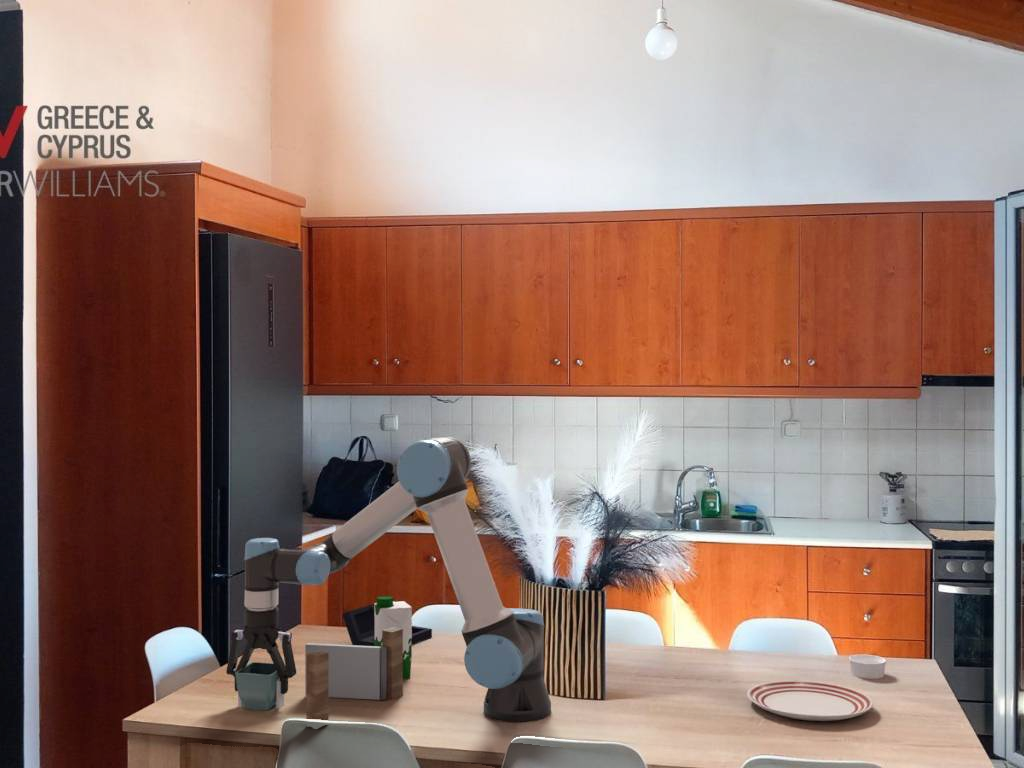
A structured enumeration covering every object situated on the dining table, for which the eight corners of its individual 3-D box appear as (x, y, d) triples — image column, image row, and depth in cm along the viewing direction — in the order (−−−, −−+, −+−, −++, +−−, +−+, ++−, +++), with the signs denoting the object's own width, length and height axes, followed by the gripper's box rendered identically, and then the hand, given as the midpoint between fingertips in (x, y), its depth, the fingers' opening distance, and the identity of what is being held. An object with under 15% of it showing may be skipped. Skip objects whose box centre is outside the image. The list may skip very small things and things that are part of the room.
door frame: (402, 696, 235) (402, 628, 235) (316, 731, 212) (316, 656, 212) (392, 694, 237) (393, 627, 237) (306, 728, 214) (306, 653, 214)
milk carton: (371, 673, 254) (371, 594, 254) (405, 669, 257) (405, 591, 257) (379, 683, 246) (379, 601, 246) (415, 679, 249) (415, 599, 249)
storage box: (388, 654, 272) (388, 617, 272) (341, 646, 281) (341, 610, 281) (431, 637, 290) (432, 603, 290) (387, 630, 298) (387, 596, 298)
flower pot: (270, 715, 222) (271, 674, 222) (234, 712, 224) (234, 672, 224) (287, 702, 231) (287, 663, 231) (252, 700, 233) (252, 661, 233)
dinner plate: (723, 698, 235) (723, 684, 235) (820, 686, 245) (820, 672, 245) (795, 738, 210) (796, 722, 210) (900, 722, 219) (900, 707, 219)
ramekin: (850, 679, 250) (850, 662, 250) (847, 669, 258) (847, 652, 258) (888, 682, 248) (888, 664, 248) (883, 672, 256) (883, 655, 256)
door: (389, 696, 234) (389, 644, 234) (385, 700, 231) (385, 648, 231) (310, 691, 237) (310, 641, 237) (305, 695, 234) (305, 644, 234)
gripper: (312, 605, 229) (311, 703, 229) (224, 601, 233) (224, 698, 233) (300, 612, 222) (299, 714, 222) (210, 608, 225) (209, 709, 225)
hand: (261, 706), depth 227 cm, fingers closed on flower pot, 8 cm apart
